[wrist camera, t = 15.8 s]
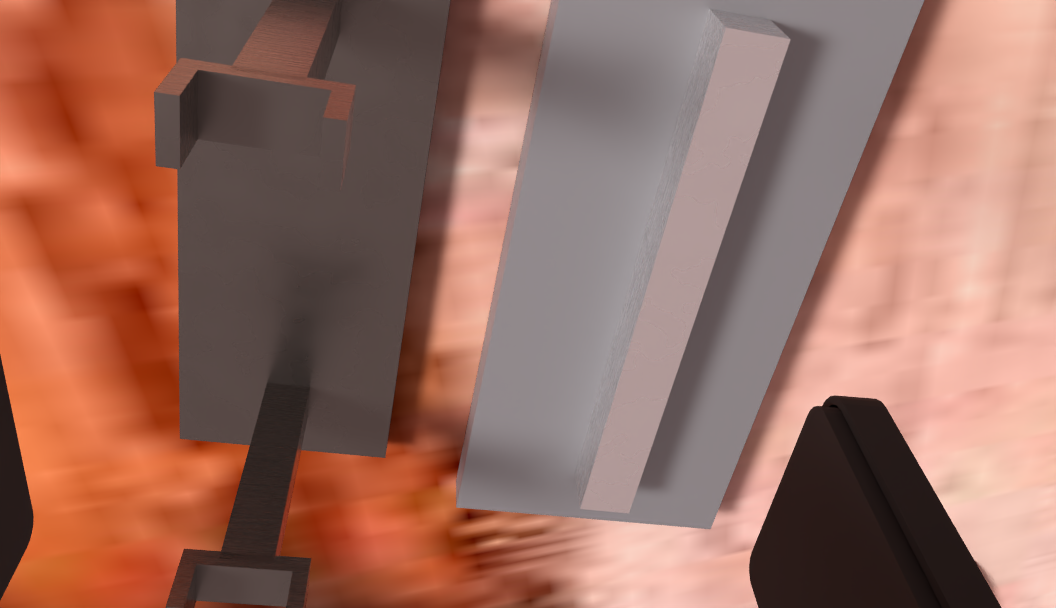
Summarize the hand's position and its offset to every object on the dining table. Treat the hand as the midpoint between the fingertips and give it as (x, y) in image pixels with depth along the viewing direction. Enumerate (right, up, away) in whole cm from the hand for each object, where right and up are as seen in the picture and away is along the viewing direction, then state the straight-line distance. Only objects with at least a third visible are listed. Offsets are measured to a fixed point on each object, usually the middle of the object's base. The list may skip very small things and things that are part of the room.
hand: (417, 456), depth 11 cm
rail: (+7, +3, +31) cm, 32 cm away
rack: (-9, +6, +30) cm, 32 cm away
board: (+7, +4, +33) cm, 34 cm away
